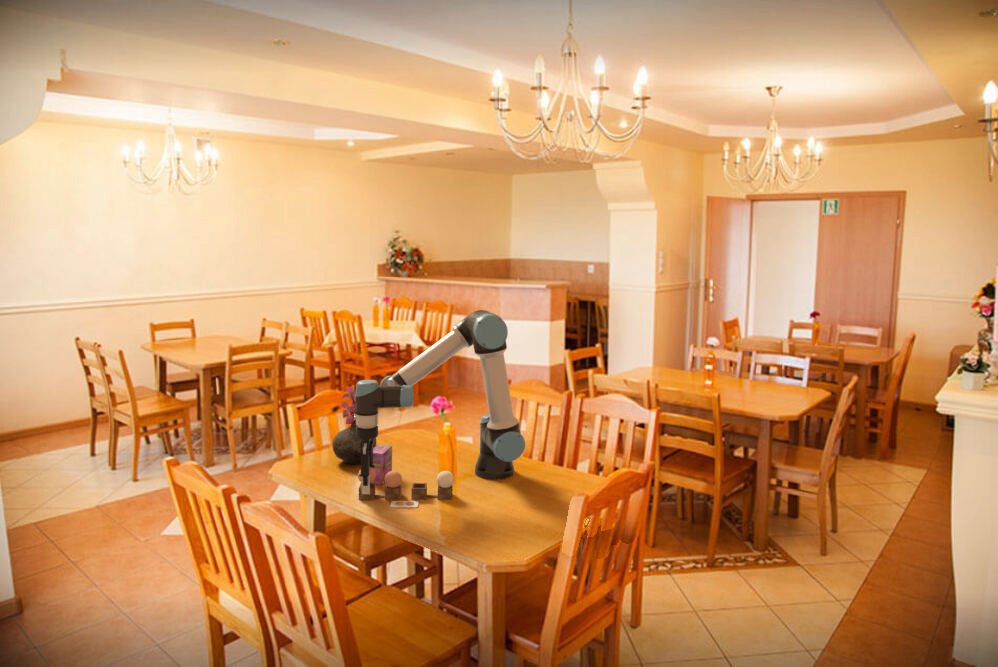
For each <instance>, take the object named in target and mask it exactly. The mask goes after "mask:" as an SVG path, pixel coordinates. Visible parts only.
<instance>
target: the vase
mask: <svg viewBox="0 0 998 667" xmlns="http://www.w3.org/2000/svg"><path fill="white" fill-rule="evenodd" d="M345 389H346V392H347V393H344V394H343V395H341V398H340V399H341V400H343V398H348V399H349V400H350V402H351V405H349V403H348V402H346V401H343V403H341V404H340V407H341V408H344V409H343V410H342V418H343V419H345V418H346V420H345V425H350V426H349V427H346V428H344V429H342V430H340V431H339V432H337V434H336V435H335V436H334V438H332V439H333V440H332V449H333V450H332V452H333V453H334V455H335V456H336V458H338V459H339V460H342V461H343V462H346V464H349V465H357V464H358V465H359V464H361V451H360V449H361V447H360V445H361V443H362V441H363V440H362V439H359V438H357V437H356V426H357V425H356V419H355V418H354V416H356V396H355V394H356V389H355V390H354V387H353V386H348V387H345ZM373 442H374V444H373V448H374V447H376V446H377V437H376V438H373Z"/></svg>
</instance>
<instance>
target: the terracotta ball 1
mask: <svg viewBox="0 0 998 667" xmlns="http://www.w3.org/2000/svg"><path fill="white" fill-rule="evenodd" d="M369 474H370V483H372V482H373V481H374V480H375V477H376V472H375V470H374V469H373V468H372V467H369ZM359 475H361V469H359V471H358V475H357V477H358V480H359V482H360V483H362V477H361V476H359Z"/></svg>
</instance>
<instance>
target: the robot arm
mask: <svg viewBox="0 0 998 667" xmlns="http://www.w3.org/2000/svg"><path fill="white" fill-rule="evenodd" d="M508 332H509V330H508V326H507V324H506V322H505V321H504V319H502V317H501V316H499V315H498V314H496V313H492V312H490V311H488V310H485V309H484V310H483V309H479V310H475V311H473V312H471V313H469V314H468V315H466V317H464V318H463V319H461V320H460V321H459V322H458V323H456V324H455V325H454V326H453V328H452V330H451V331H450V332H449V333H447V334H446V335H444V336H443V337H442V338H441V339H439V340H437V341H436V342H435V343H434V344H433V345H431V346H430V347H428V349H426V350H425V351H423V352H422V353H421V354H419V355H418V356H416V357H415V358H414V359H412V360H411V361H410V362H408V363H407V364H406V365H404V366H403V367H401V368H400V369H399V370H398V371H396V372H395V373H393V374H392V375H387V376H385V377H384V378H383V379H382V380H381V383H380V385H379V382H378V381H377V380H374V379H362V380H358V382H357V383H356V384H355V391H356V394H355V397H356V416H354V418H355V419H356V425H357V426H356V437H357V438H359V439H362V440H363V441H362V443H361V445H360V447H361V449H360V451H361V463H360V470H361V475H359V476H361V477H362V482H361V483H362V494H370V474H369V467H372V468H374V467H375V465H372V464H373V444H374V442H373V438H376V439H377V438H378V436H379V426H378V425H379V409H392V408H393V409H395V408H397V409H398V408H402V409H403V408H408V407H409V408H410V407H412V406H413V405H414V398H415V396H414V392H415V391H414V389H413V386H414V385H415V384H418V382H420V381H421V380H422V379H424V378H426V376H428V375H430V374H431V373H432V372H433V371H435V370H436V369H438V367H440V366H441V365H442V364H444V363H445V362H447V361H448V360H449V359H451V358H452V357H453V356H455V355H456V354H457V353H459V352H461V350H463V349H464V348H470V347H472V346H473V351H474V354H475V355H476V356H478V357H479V361H480V368H481V372H482V378H483V384H484V391H485V396H486V404H487V408H488V409H487V410H488V413H489V414H485V415H482V416H481V418H480V423H479V426H480V428H479V429H480V430H479V432H480V433H479V434H480V435H479V455H478V457H477V460H476V463H475V466H474V473H475V475H476V476H477V477H479V478H482V479H486V480H504V479H505V480H506V479H508V478H511V477H512V476H514V474H515V467H514V464H513V462H515V461H516V460H518V459H519V458H521V456H522V455H523V454H524V452H525V449H526V440H525V438H524V436H523V434H522V433H521V428H520V422H519V419H518V418H517V417H515V416H514V411H513V405H512V399H511V392H510V385H509V379H508V373H507V367H506V361H505V355H504V354H505V352H506V351H507V349H508V346H507V345H508V344H507V338H508Z"/></svg>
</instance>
